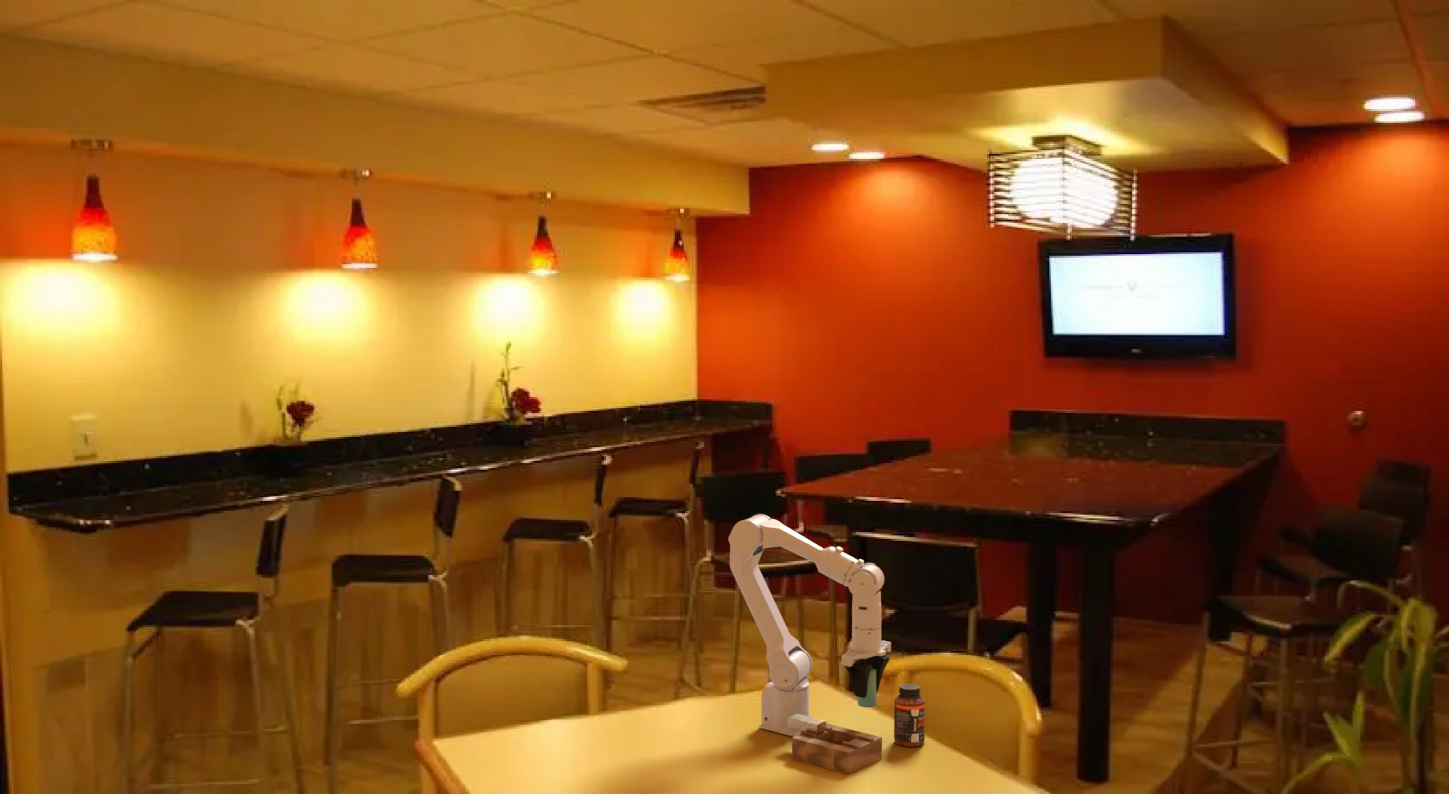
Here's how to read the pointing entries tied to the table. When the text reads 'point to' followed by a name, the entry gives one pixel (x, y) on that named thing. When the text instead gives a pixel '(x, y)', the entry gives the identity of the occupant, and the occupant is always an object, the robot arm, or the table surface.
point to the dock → (837, 748)
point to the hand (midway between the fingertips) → (866, 694)
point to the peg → (869, 691)
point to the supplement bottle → (909, 716)
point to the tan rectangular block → (807, 723)
